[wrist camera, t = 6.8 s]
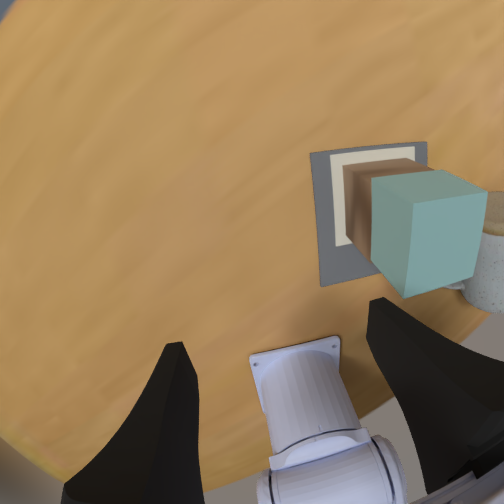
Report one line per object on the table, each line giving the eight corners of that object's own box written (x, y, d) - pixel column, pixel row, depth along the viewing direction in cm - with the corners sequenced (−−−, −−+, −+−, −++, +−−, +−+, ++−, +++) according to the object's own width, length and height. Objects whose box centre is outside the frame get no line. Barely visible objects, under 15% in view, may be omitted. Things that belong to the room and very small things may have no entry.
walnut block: (405, 223, 21) (435, 247, 18) (345, 235, 21) (370, 263, 18) (406, 157, 19) (441, 173, 16) (342, 165, 19) (370, 182, 15)
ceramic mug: (499, 178, 21) (559, 211, 14) (497, 251, 25) (544, 292, 18) (413, 215, 22) (475, 265, 15) (419, 293, 26) (463, 349, 19)
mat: (419, 261, 24) (420, 262, 23) (320, 285, 23) (321, 287, 23) (425, 141, 19) (428, 142, 19) (309, 153, 19) (311, 154, 18)
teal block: (435, 244, 18) (472, 276, 14) (370, 259, 18) (403, 298, 14) (442, 169, 15) (487, 191, 12) (371, 177, 15) (413, 203, 12)
